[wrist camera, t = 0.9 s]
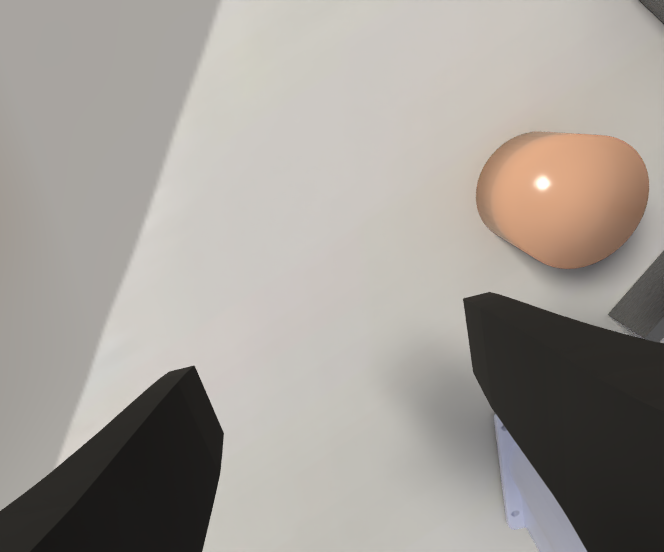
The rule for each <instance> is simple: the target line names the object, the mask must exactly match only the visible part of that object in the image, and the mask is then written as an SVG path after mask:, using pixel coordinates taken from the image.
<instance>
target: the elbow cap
mask: <svg viewBox="0 0 664 552" xmlns="http://www.w3.org/2000/svg"><path fill="white" fill-rule="evenodd" d="M648 195H649V178H648V172H647V169H646V166H645V164H644V162H643V160H642V158H641V156H640V155H639V154H638V152H637V151H636V150H635V149H634V148H633V147H632V146H630V145H629V144H627V143H626V142H624V141H622V140H620V139H617V138H614V137H610V136H602V135H588V134H572V133H556V132H529V133H525V134H522V135H519V136H516V137H514V138H512V139H510V140H509V141H507V142H506V143H504V144H503V145H502V146H500V147H499V148H498V149H497V150H496V151H495V152H494V153H493V154H492V156H491V157H490V158H489V159H488V161H487V162H486V164H485V166H484V167H483V169H482V172H481V174H480V177H479V180H478V184H477V189H476V203H477V209H478V212H479V215H480V217H481V219H482V221H483V222H484V224H485V225H486V226H487V227H488V228H489V229H490V230H491V231H492V232H493V233H495V234H496V235H498V236H499V237H501V238H503V239H504V240H506V241H508V242H509V243H511V244H512V245H514V246H516V247H517V248H519V249H521V250H522V251H524V252H526V253H527V254H529V255H530V256H532V257H534V258H535V259H537V260H539V261H541V262H542V263H544V264H546V265H549V266H552V267H556V268H563V269H572V268H580V267H585V266H588V265H591V264H594V263H596V262H598V261H601V260H602V259H604V258H606V257H608V256H609V255H611V254H612V253H613V252H615V251H616V250H617V249H618V248H620V247H621V246H622V245H623V244H624V243H625V242H626V241H627V240H628V239H629V237H630V236H631V235H632V233H633V232H634V231H635V229H636V227H637V226H638V224H639V223H640V220H641V218H642V216H643V214H644V211H645V208H646V205H647V201H648Z"/></svg>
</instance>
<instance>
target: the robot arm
mask: <svg viewBox="0 0 664 552" xmlns="http://www.w3.org/2000/svg"><path fill="white" fill-rule="evenodd" d="M463 301H464V309H465V316H466V323H467V330H468V338H469V345H470V352H471V360H472V367H473V373H474V375H475V377H476V379H477V381H478V383H479V385H480V386H481V388H482V390H483V392H484V394H485V396H486V398H487V400H488V402H489V403H490V405H491V407H492V409H493V410H494V412H495V415H494V424H495V432H496V440H497V449H498V457H499V465H500V474H501V482H502V490H503V498H504V507H505V515H506V522H507V524H508V526H509V528H511V529H514V530H515V529H521V528H525V527H526V528H527V530H528V532H529V534H530V536H531V537H532V539H533V541H534V543H535V545H536V547H537V548H538V550H539V552H664V343H659V342H654V341H650V340H645V339H641V338H637V337H633V336H629V335H625V334H622V333H618V332H615V331H611V330H608V329H604V328H600V327H597V326H593V325H590V324H587V323H583V322H580V321H577V320H574V319H571V318H567V317H564V316H561V315H558V314H555V313H552V312H549V311H546V310H544V309H541V308H538V307H535V306H532V305H529V304H526V303H523V302H520V301H517V300H515V299H512V298H509V297H505V296H502V295H499V294H495V293H491V292H488V293H484V294H480V295H476V296H472V297H468V298H464V299H463ZM503 425H504V426H503ZM223 436H224V433H223V430H222V428H221V426H220V423H219V421H218V419H217V417H216V414H215V412H214V410H213V407H212V405H211V403H210V400H209V398H208V396H207V393H206V391H205V389H204V387H203V384H202V382H201V380H200V377H199V375H198V373H197V370H196V368H195V366H190V367H186V368H182V369H178V370H174V371H170V372H168V373H167V374H165V375H164V376H163V377H161V378H160V379H159V380H157V381H156V382H155V383H154V384H153V385H151V386H150V387H149V388H148V389H147V390H146V391H144V392H143V393H142V394H141V395H140V396H139V397H138V398H136V399H135V400H134V401H133V402H132V403H131V404H130V405H129V406H128V407H126V408H125V409H124V410H123V411H122V412H121V413H120V414H119V415H117V416H116V417H115V418H114V419H113V420H112V421H111V422H110V423H109V424H107V425H106V426H105V427H104V428H103V429H102V430H101V431H100V432H98V433H97V434H96V435H95V436H94V437H93V438H91V439H90V440H89V441H88V442H87V443H85V444H84V445H83V446H82V447H81V448H80V449H78V450H77V451H76V452H75V453H74V454H72V455H71V456H70V457H69V458H68V459H66V460H65V461H64V462H63V463H62V464H61V465H59V466H58V467H57V468H56V469H55V470H53V471H52V472H51V473H50V474H48V475H47V476H46V477H45V478H43V479H42V480H41V481H40V482H38V483H37V484H36V485H35V486H33V487H32V488H31V489H29V490H28V491H27V492H25V493H24V494H23V495H21V496H20V497H19V498H17V499H16V500H15V501H13V502H12V503H11V504H9V505H8V506H7V507H5V508H4V509H2V510H1V511H0V552H202V550H203V546H204V541H205V537H206V533H207V529H208V525H209V520H210V516H211V512H212V508H213V503H214V499H215V494H216V490H217V486H218V481H219V476H220V469H221V460H222V449H223Z"/></svg>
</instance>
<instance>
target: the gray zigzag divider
mask: <svg viewBox="0 0 664 552" xmlns="http://www.w3.org/2000/svg"><path fill="white" fill-rule="evenodd" d="M640 1H641V2H642V3H643V4H644V5H645V6H646V7H647V8H648V9H649V10H650V11H651V12H652V13H653V14H654V15H655V16H657V17H658V18H659V19H660V20H661V21H662V22H663V23H664V0H640ZM608 315H609V316H611V317H613V318H614V319H616V320H617V321H619V322H620V323H622V324H623V325H625V326H626V327H628V328H630V329H631V330H633V331H634V332H636V333H637V334H639V335H640V336H642V337H643V338H645V339H647V340H650V341H654V342H660V340H661V339H662V338H663V337H664V251H663V252H662V254H661V255H660V256H659V257H658V258H657V259H656V260H655V262H654V263H653V264H652V265H651V266H650V267H649V268H648V269H647V271H646V272H645V273H644V274H643V275H642V276H641V277H640V279H639V280H638V281H637V282H636V283H635V284H634V285H633V287H632V288H631V289H630V290H629V291H628V292H627V293H626V295H625V296H624V297H623V298H622V299H621V300H620V301H619V303H618V304H617V305H616V306H615V307H614V308H613V309H612V311H611V312H610V313H609V314H608Z"/></svg>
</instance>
